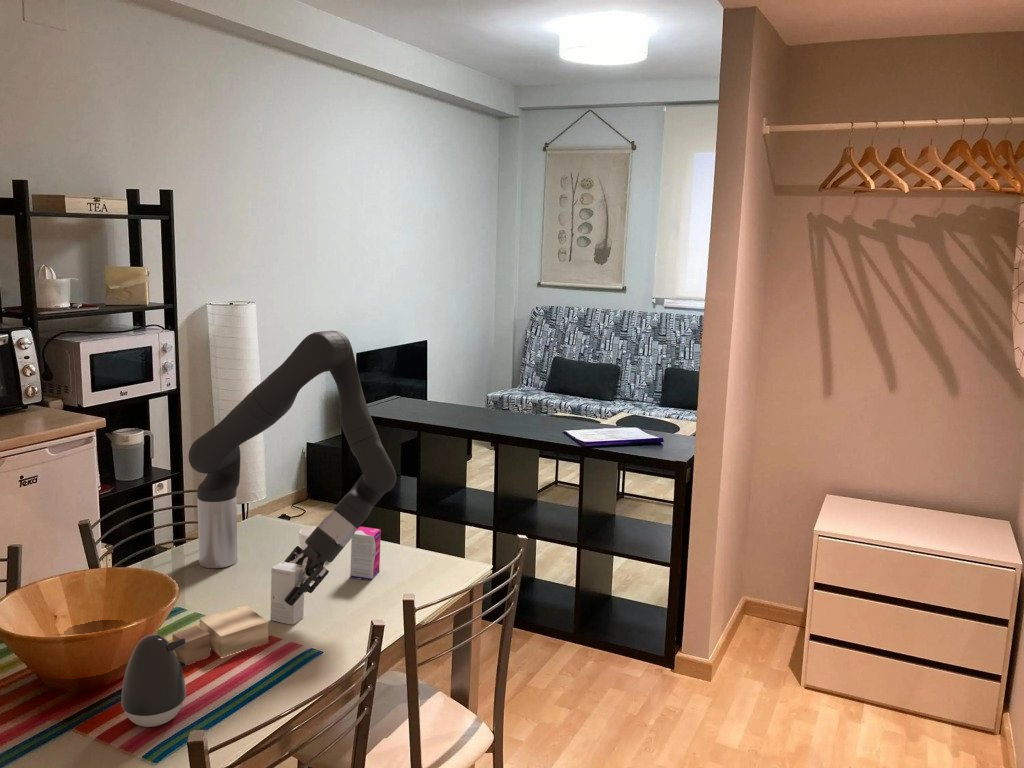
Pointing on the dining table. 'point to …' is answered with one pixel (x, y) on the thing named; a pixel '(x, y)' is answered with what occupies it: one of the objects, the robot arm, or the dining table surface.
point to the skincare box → (285, 593)
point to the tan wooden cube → (192, 644)
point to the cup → (305, 535)
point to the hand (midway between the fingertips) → (281, 596)
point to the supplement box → (365, 553)
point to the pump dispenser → (153, 682)
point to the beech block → (235, 630)
